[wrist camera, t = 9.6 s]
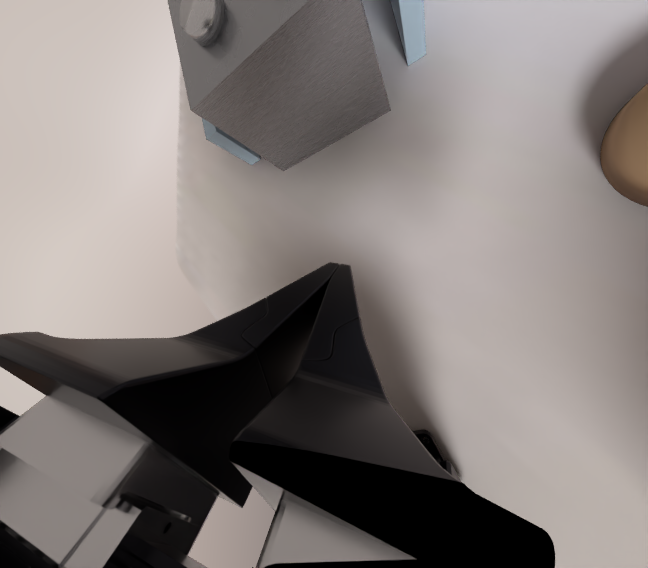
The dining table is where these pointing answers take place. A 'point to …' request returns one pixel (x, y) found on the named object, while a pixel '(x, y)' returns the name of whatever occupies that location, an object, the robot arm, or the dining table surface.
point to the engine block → (280, 71)
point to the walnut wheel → (628, 149)
